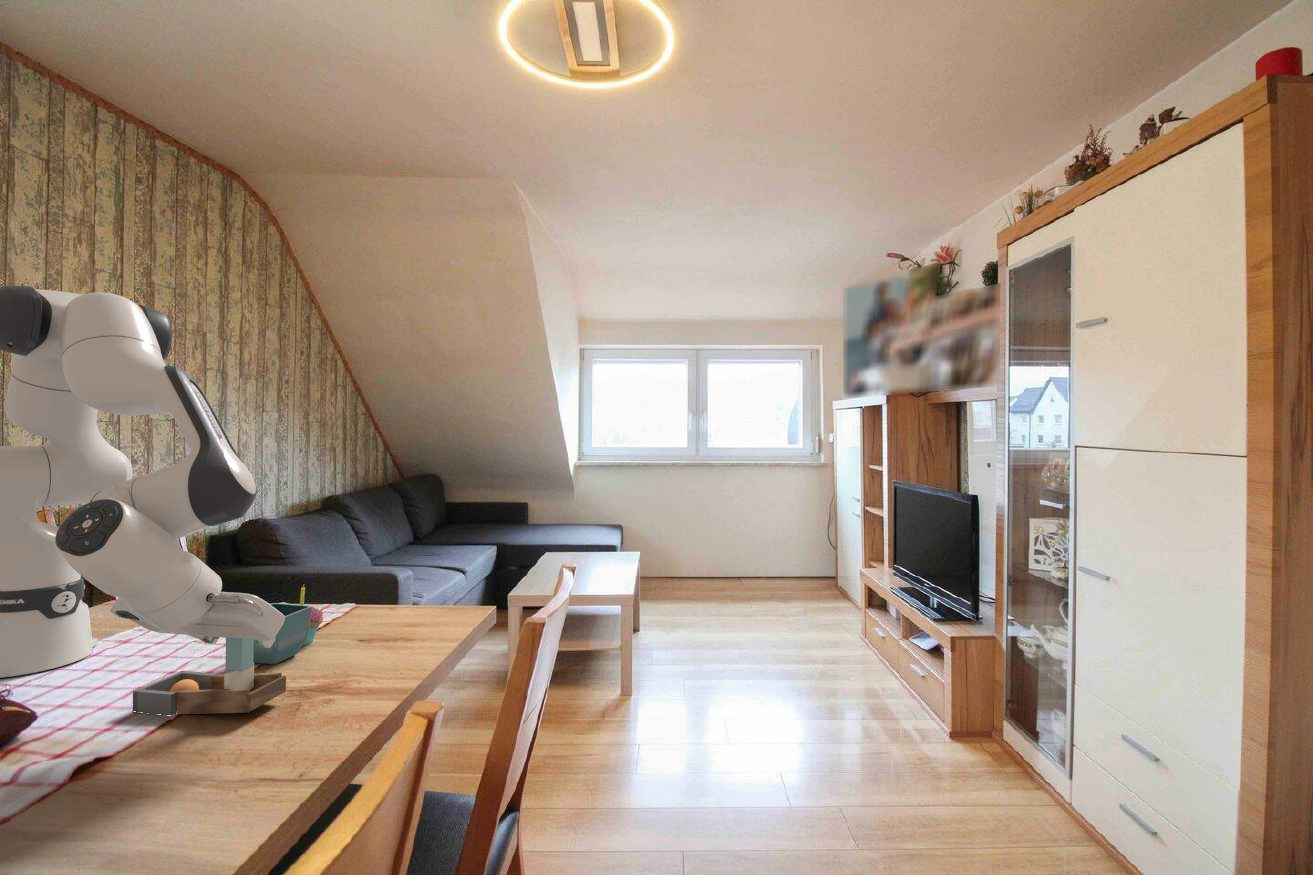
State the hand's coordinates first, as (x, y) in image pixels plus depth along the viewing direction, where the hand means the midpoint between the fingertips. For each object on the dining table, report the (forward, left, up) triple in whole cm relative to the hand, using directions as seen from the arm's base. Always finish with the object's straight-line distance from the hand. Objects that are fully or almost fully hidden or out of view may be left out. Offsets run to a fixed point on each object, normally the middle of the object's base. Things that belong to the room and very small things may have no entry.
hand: (241, 640), depth 88 cm
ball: (-10, 0, -8) cm, 13 cm away
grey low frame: (-11, 0, -10) cm, 15 cm away
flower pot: (-10, +18, -10) cm, 23 cm away
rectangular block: (0, 0, -8) cm, 8 cm away
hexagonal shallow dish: (-1, 0, -10) cm, 10 cm away
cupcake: (-12, +26, -10) cm, 31 cm away
